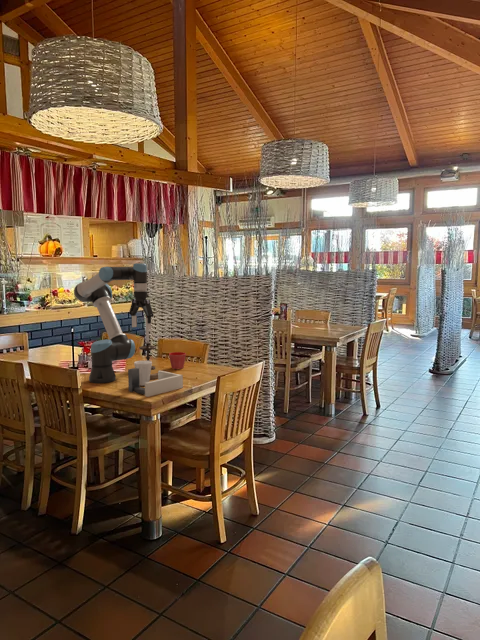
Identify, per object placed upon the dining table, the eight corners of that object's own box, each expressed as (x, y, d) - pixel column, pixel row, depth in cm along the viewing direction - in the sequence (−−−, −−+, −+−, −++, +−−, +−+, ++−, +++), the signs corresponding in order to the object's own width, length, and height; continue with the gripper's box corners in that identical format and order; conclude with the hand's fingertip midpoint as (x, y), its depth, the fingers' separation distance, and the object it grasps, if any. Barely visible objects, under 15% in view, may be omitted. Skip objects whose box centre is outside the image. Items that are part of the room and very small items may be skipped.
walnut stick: (159, 377, 288) (158, 372, 287) (162, 378, 286) (162, 373, 285) (137, 382, 276) (137, 377, 275) (140, 383, 274) (140, 378, 273)
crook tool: (126, 390, 255) (126, 368, 254) (156, 383, 271) (156, 363, 269) (143, 395, 246) (143, 372, 245) (173, 387, 262) (172, 366, 260)
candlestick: (143, 371, 304) (141, 316, 300) (137, 368, 313) (136, 315, 309) (159, 369, 309) (158, 315, 305) (153, 366, 318) (152, 314, 315)
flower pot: (183, 369, 307) (183, 355, 306) (167, 369, 309) (166, 354, 308) (187, 366, 318) (187, 352, 317) (172, 366, 319) (171, 351, 318)
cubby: (125, 390, 255) (124, 378, 254) (160, 382, 274) (160, 370, 273) (147, 396, 243) (147, 383, 242) (182, 387, 262) (182, 375, 261)
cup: (145, 382, 275) (145, 359, 274) (155, 384, 268) (155, 362, 267) (130, 384, 268) (130, 362, 266) (141, 387, 261) (140, 364, 260)
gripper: (122, 290, 274) (123, 326, 276) (148, 292, 257) (149, 330, 259) (133, 289, 279) (134, 325, 282) (159, 291, 262) (160, 329, 265)
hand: (141, 328), depth 270 cm, fingers open, 13 cm apart
